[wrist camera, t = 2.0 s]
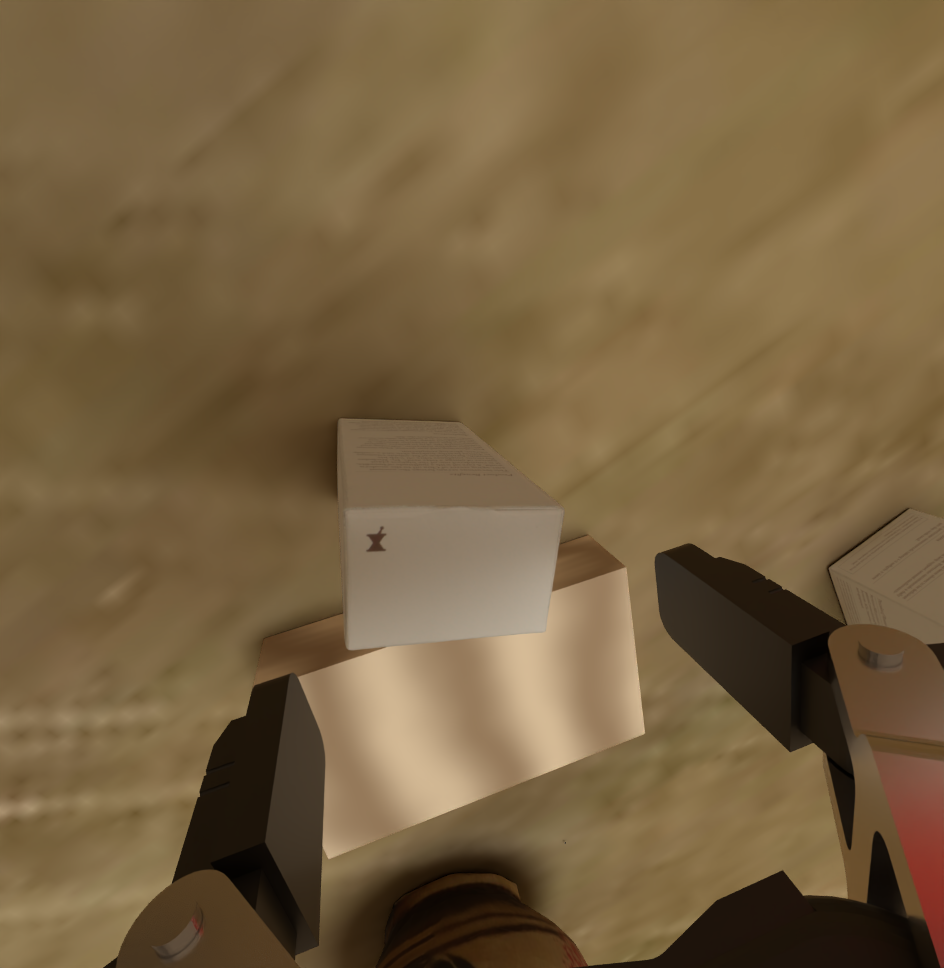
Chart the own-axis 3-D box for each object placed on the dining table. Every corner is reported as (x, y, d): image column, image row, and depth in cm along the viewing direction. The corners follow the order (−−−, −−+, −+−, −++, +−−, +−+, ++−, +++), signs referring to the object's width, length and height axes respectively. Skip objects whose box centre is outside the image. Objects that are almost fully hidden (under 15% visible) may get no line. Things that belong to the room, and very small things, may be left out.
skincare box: (337, 503, 25) (337, 656, 13) (337, 416, 23) (337, 504, 12) (459, 502, 26) (550, 638, 15) (466, 420, 25) (569, 502, 14)
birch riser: (329, 791, 30) (328, 859, 26) (263, 638, 26) (251, 692, 22) (609, 686, 32) (644, 733, 29) (588, 535, 29) (626, 567, 25)
